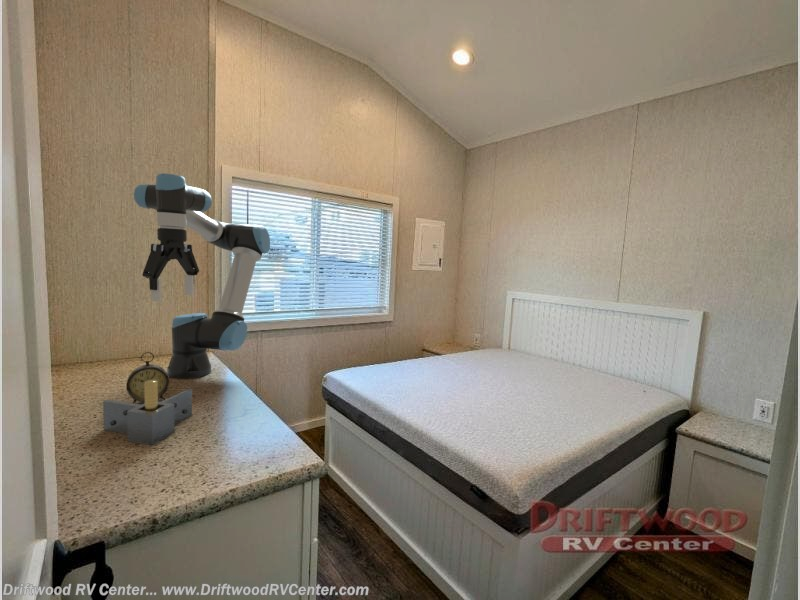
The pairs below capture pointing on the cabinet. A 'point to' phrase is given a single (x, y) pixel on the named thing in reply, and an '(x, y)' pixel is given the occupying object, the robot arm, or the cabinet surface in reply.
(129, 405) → the hinge leaves
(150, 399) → the hinge pin
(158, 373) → the alarm clock
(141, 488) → the cabinet surface
